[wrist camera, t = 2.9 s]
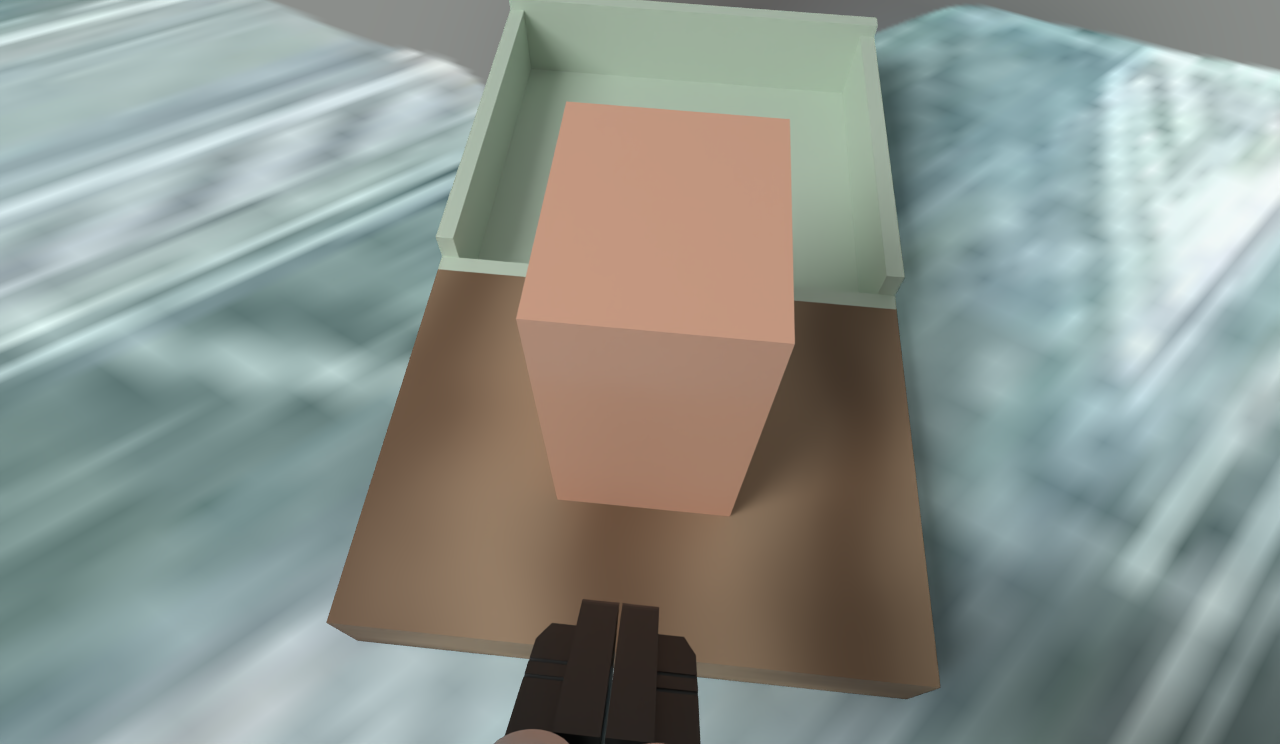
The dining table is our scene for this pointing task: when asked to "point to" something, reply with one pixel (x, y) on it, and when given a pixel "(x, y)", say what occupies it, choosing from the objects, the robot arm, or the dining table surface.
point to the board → (651, 515)
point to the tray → (700, 82)
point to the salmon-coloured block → (659, 303)
